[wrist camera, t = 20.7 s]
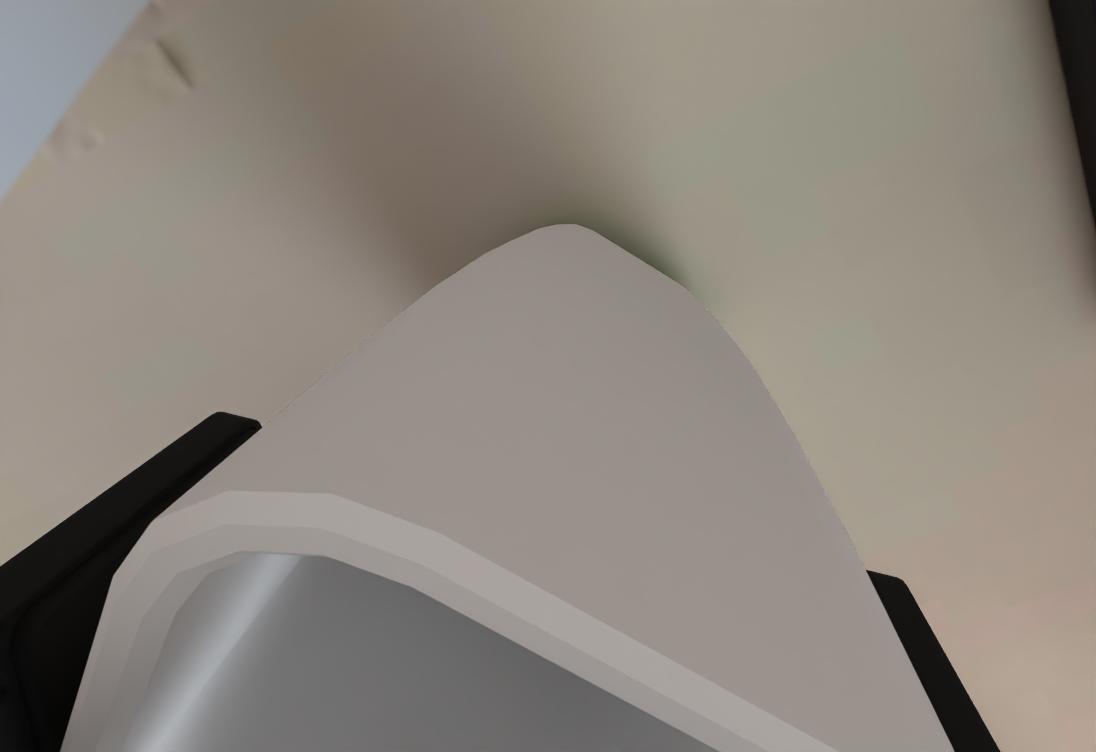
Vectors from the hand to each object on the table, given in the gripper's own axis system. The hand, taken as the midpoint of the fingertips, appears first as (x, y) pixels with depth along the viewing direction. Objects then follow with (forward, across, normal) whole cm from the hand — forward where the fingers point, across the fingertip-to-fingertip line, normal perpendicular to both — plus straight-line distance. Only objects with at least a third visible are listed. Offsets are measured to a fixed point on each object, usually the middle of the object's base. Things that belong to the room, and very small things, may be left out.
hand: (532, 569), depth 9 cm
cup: (+11, 0, 0) cm, 11 cm away
